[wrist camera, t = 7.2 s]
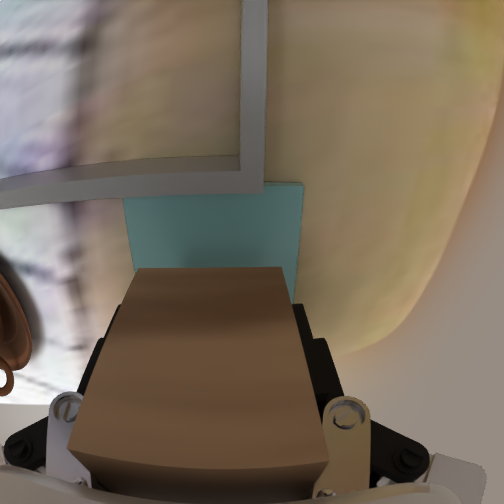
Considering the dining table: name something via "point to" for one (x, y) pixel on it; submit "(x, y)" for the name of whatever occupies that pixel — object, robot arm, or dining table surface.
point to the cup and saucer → (12, 335)
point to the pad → (218, 230)
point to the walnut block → (203, 392)
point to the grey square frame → (174, 168)
